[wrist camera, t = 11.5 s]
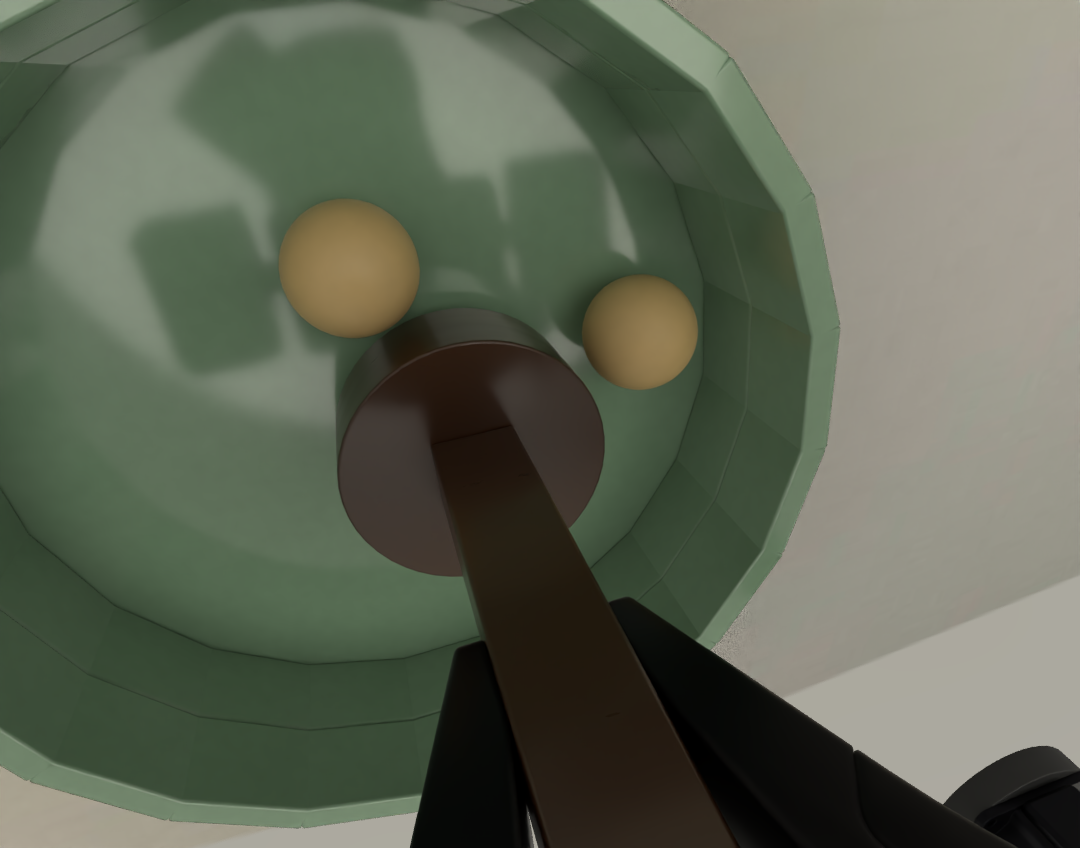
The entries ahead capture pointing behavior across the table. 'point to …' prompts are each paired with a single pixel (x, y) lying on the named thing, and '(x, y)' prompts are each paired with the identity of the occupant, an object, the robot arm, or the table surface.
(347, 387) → the lever handle
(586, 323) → the bean
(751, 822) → the robot arm
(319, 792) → the mixing bowl
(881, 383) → the table surface
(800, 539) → the table surface
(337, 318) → the bean
